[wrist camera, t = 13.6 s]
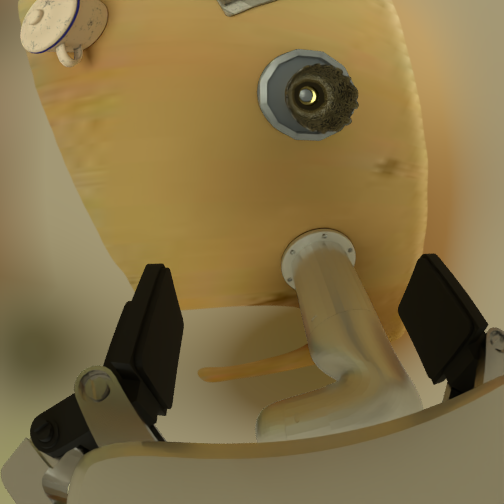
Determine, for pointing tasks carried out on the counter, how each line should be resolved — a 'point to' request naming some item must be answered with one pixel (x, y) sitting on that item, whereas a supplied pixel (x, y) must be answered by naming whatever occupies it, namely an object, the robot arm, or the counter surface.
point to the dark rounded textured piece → (321, 98)
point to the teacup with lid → (63, 27)
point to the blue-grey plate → (275, 85)
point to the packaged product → (240, 5)
